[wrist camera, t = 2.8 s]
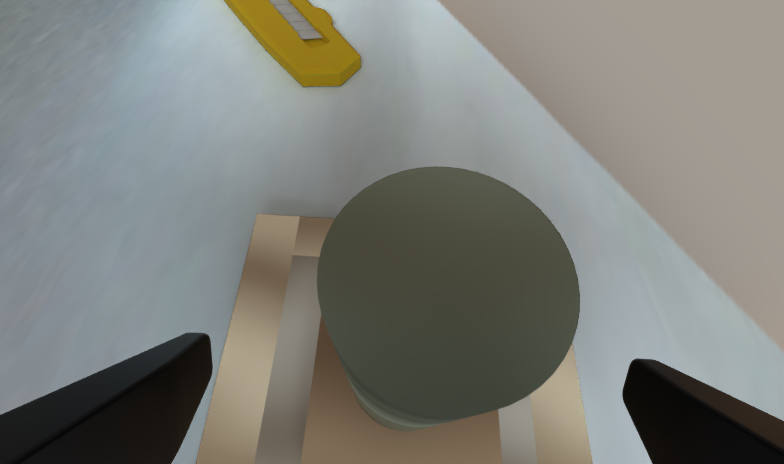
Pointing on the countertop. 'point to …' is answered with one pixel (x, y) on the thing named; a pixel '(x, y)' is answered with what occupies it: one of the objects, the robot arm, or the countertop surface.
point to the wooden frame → (297, 357)
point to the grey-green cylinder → (434, 319)
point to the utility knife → (300, 39)
